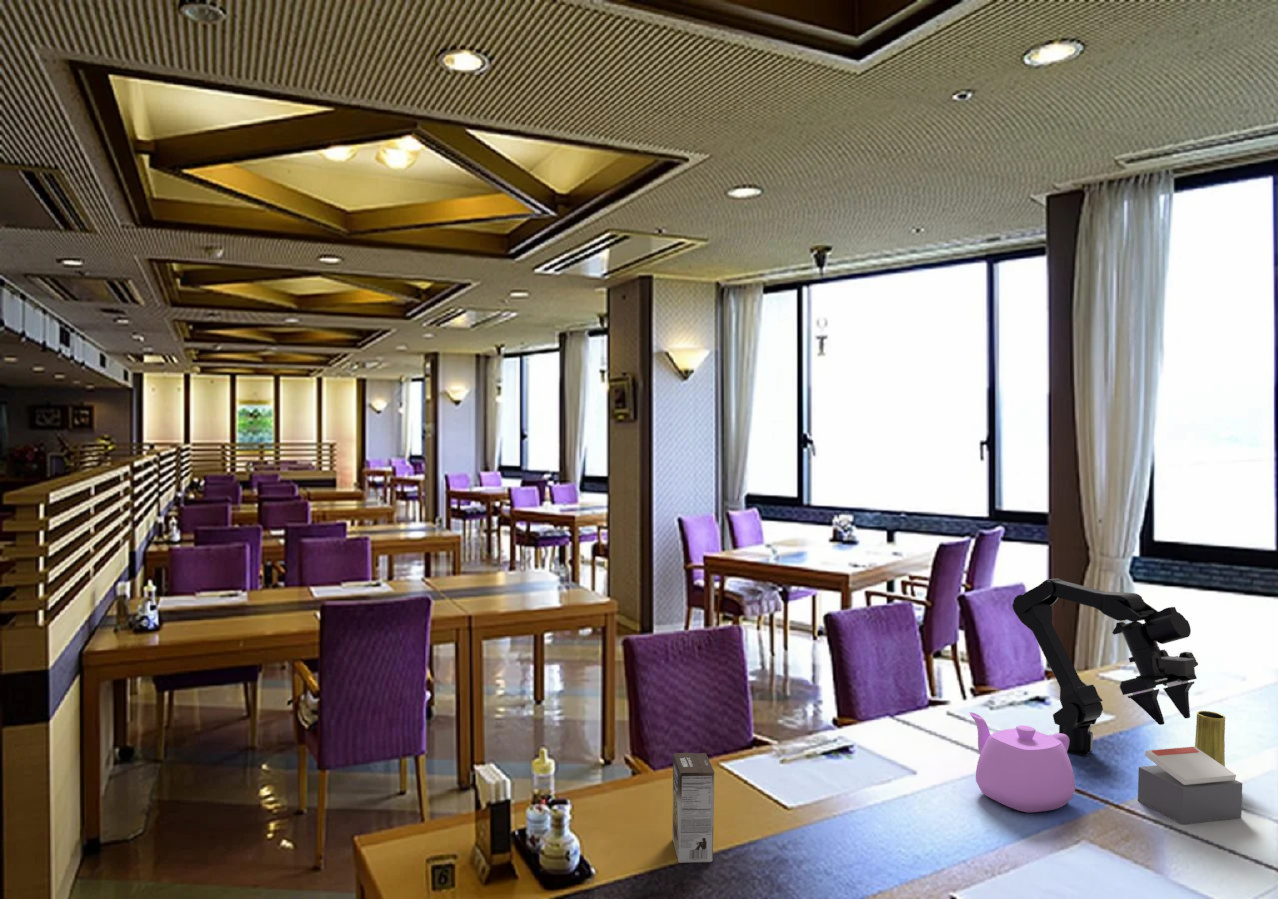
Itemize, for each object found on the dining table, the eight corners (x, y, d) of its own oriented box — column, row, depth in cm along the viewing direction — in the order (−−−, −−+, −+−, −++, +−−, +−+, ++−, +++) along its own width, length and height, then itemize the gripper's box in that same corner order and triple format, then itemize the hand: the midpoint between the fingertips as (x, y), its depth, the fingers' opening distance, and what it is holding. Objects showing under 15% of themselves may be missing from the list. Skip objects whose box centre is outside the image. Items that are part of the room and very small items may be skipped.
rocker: (1144, 755, 179) (1146, 749, 178) (1193, 751, 181) (1195, 745, 181) (1184, 785, 169) (1185, 778, 169) (1234, 780, 172) (1236, 773, 171)
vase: (1231, 785, 187) (1233, 720, 187) (1199, 783, 188) (1201, 718, 188) (1218, 774, 193) (1220, 711, 193) (1187, 772, 194) (1189, 709, 194)
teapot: (1101, 805, 177) (1102, 731, 177) (1028, 824, 168) (1030, 747, 167) (1009, 765, 198) (1010, 699, 197) (940, 780, 188) (941, 712, 188)
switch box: (1137, 800, 179) (1138, 767, 179) (1194, 795, 182) (1195, 762, 182) (1181, 824, 168) (1182, 788, 168) (1241, 818, 172) (1242, 783, 171)
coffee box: (671, 839, 160) (672, 752, 160) (705, 838, 161) (706, 751, 160) (677, 863, 151) (678, 772, 151) (713, 862, 152) (715, 771, 151)
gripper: (1151, 644, 181) (1183, 721, 175) (1203, 635, 190) (1236, 708, 184) (1105, 657, 190) (1135, 730, 184) (1157, 648, 199) (1187, 717, 193)
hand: (1175, 721), depth 186 cm, fingers open, 9 cm apart
